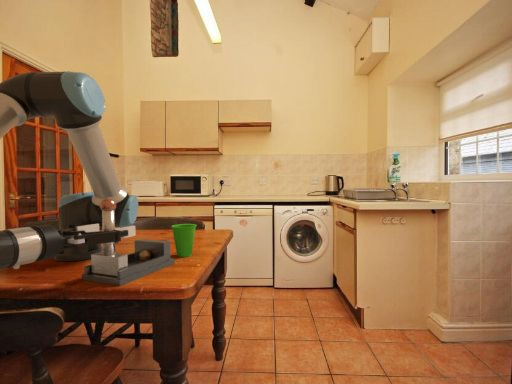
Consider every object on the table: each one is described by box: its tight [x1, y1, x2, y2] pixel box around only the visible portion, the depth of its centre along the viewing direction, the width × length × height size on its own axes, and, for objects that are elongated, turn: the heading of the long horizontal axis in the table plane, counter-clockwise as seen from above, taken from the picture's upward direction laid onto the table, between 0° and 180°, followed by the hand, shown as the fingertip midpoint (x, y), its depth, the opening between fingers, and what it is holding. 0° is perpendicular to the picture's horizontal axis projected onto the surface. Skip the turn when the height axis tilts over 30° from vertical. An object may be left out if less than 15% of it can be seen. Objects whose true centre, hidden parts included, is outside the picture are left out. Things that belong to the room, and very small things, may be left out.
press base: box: [81, 238, 176, 287], centre depth 84 cm, size 22×14×8 cm, turn 158°
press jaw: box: [90, 198, 128, 276], centre depth 77 cm, size 4×10×20 cm, turn 68°
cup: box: [170, 223, 197, 258], centre depth 102 cm, size 9×9×11 cm
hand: (115, 229), depth 79 cm, fingers open, 13 cm apart
